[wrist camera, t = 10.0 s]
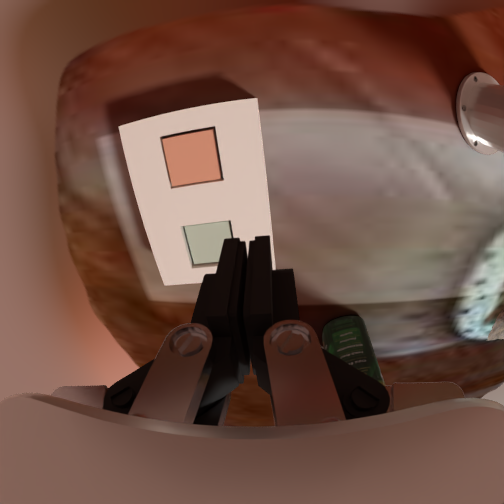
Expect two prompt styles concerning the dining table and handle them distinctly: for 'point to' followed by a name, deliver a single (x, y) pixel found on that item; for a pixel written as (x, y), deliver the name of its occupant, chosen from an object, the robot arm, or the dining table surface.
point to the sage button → (207, 240)
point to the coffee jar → (352, 345)
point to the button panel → (199, 184)
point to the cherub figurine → (498, 328)
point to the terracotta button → (193, 156)
